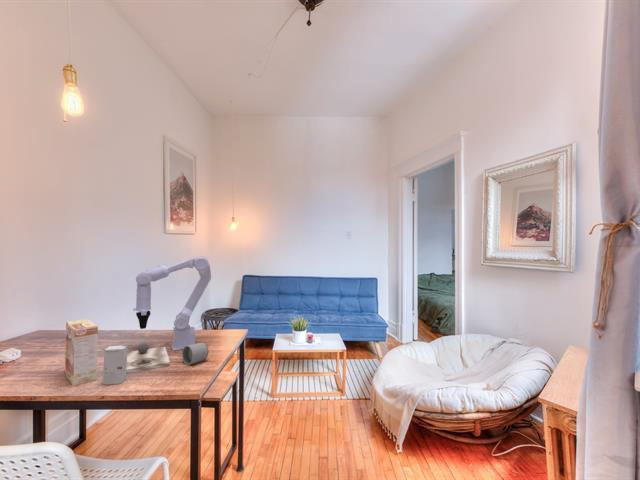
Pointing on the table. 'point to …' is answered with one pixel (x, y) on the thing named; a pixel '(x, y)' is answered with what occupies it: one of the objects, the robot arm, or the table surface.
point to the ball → (142, 348)
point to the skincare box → (115, 364)
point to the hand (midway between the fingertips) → (142, 328)
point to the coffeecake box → (81, 351)
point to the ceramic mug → (194, 353)
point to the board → (147, 359)
